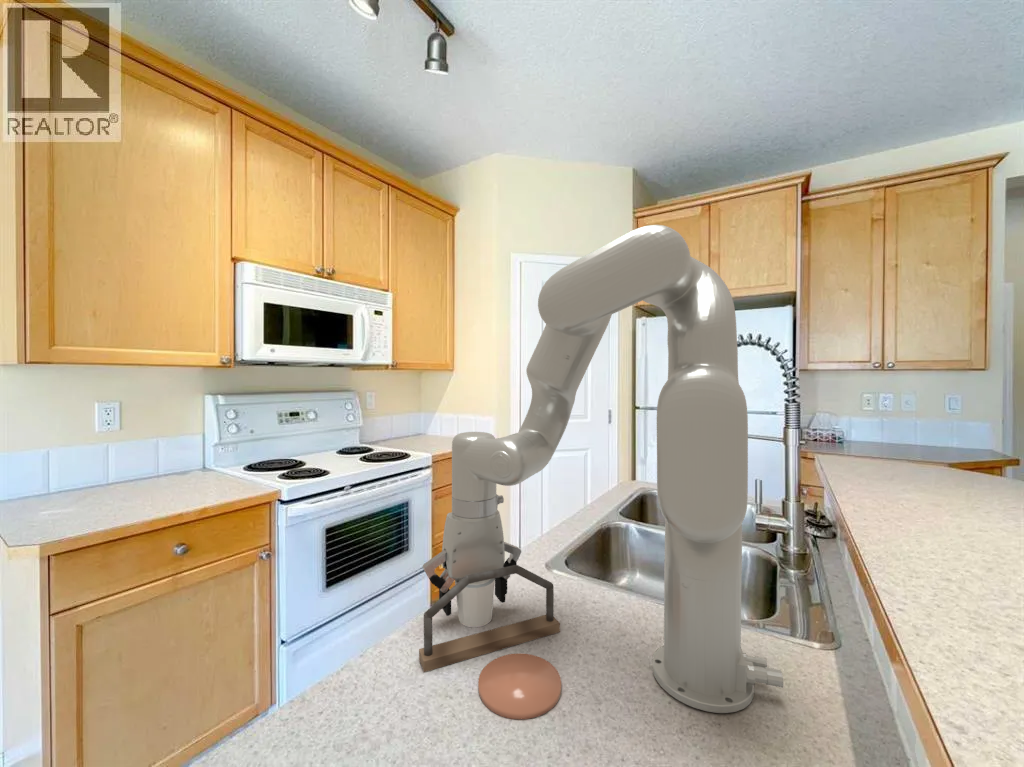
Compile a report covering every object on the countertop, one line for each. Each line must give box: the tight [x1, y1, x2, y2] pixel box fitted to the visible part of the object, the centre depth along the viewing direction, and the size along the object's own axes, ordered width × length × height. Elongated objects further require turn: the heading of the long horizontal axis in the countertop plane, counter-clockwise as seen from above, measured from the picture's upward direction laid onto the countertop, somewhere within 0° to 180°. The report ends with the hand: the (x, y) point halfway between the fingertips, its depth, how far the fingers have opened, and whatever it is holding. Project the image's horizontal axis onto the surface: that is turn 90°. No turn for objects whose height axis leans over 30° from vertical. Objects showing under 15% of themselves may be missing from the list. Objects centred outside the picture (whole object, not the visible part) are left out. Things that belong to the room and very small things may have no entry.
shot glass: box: [454, 578, 495, 628], centre depth 74 cm, size 7×7×7 cm
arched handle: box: [418, 564, 561, 673], centre depth 66 cm, size 22×3×12 cm, turn 115°
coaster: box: [477, 652, 562, 720], centre depth 58 cm, size 11×11×1 cm
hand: (473, 605), depth 74 cm, fingers open, 9 cm apart
